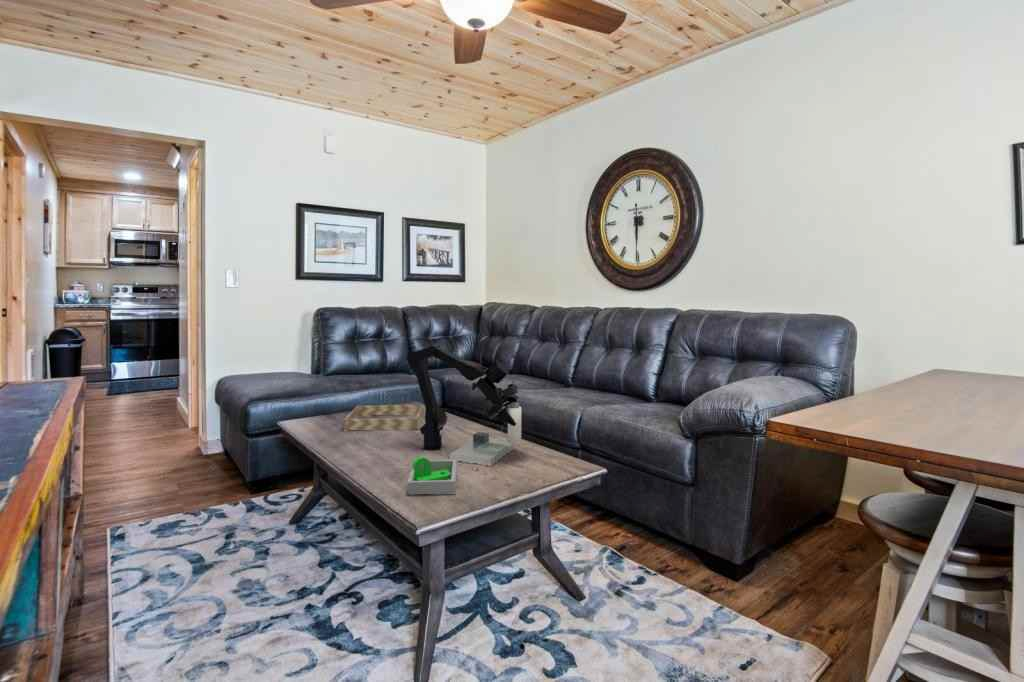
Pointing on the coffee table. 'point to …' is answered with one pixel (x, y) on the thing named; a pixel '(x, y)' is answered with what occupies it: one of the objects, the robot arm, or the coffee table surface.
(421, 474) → the mechanical part
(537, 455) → the coffee table surface
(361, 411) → the woven basket tray
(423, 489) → the parts tray
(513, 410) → the cream bottle
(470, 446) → the plate
